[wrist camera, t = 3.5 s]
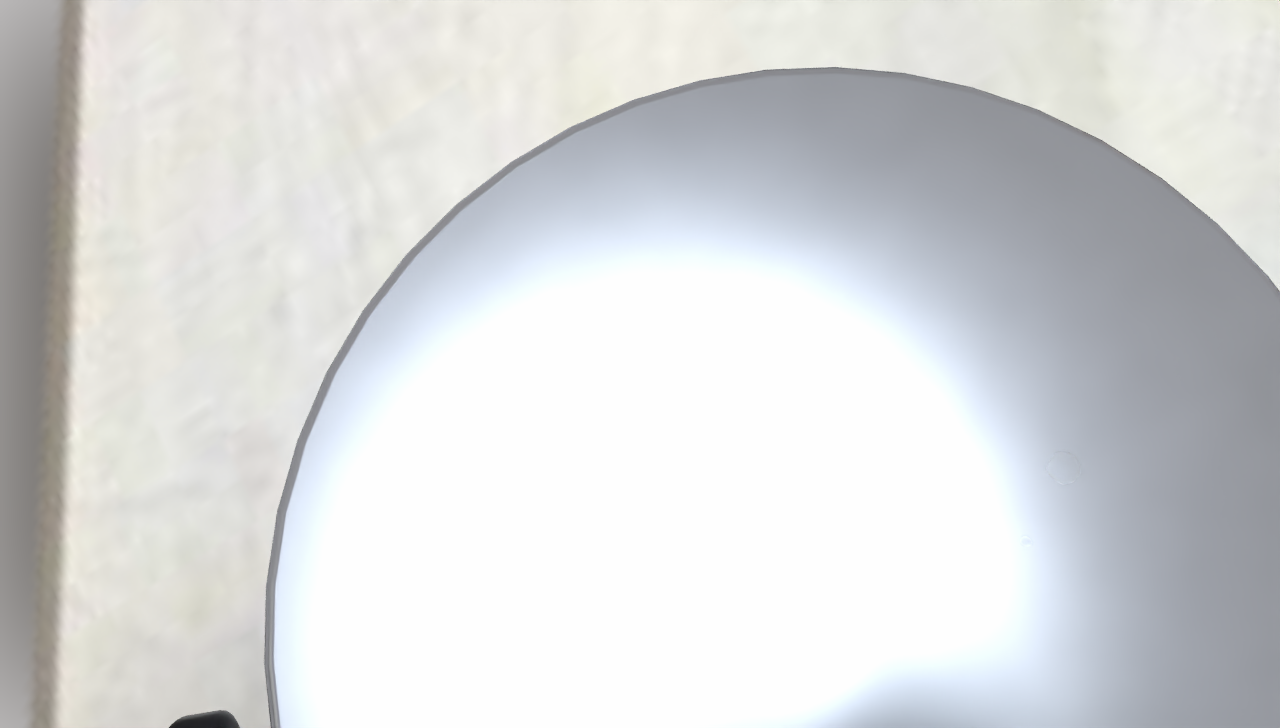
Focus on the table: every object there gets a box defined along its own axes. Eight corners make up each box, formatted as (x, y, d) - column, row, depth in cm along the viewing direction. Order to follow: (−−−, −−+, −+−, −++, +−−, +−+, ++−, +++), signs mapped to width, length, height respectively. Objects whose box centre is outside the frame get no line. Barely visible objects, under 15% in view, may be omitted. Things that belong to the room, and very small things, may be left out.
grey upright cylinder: (812, 859, 17) (1203, 1494, 5) (449, 689, 17) (46, 915, 6) (957, 489, 18) (1561, 314, 6) (610, 338, 18) (555, -93, 7)
